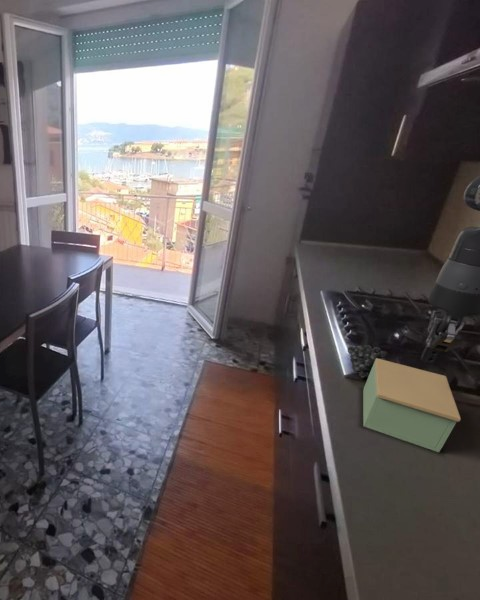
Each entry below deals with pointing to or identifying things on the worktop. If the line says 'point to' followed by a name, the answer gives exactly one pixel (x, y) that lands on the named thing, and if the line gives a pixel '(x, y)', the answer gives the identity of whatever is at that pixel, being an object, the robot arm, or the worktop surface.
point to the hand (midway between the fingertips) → (427, 361)
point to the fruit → (365, 358)
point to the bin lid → (415, 389)
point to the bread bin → (403, 419)
